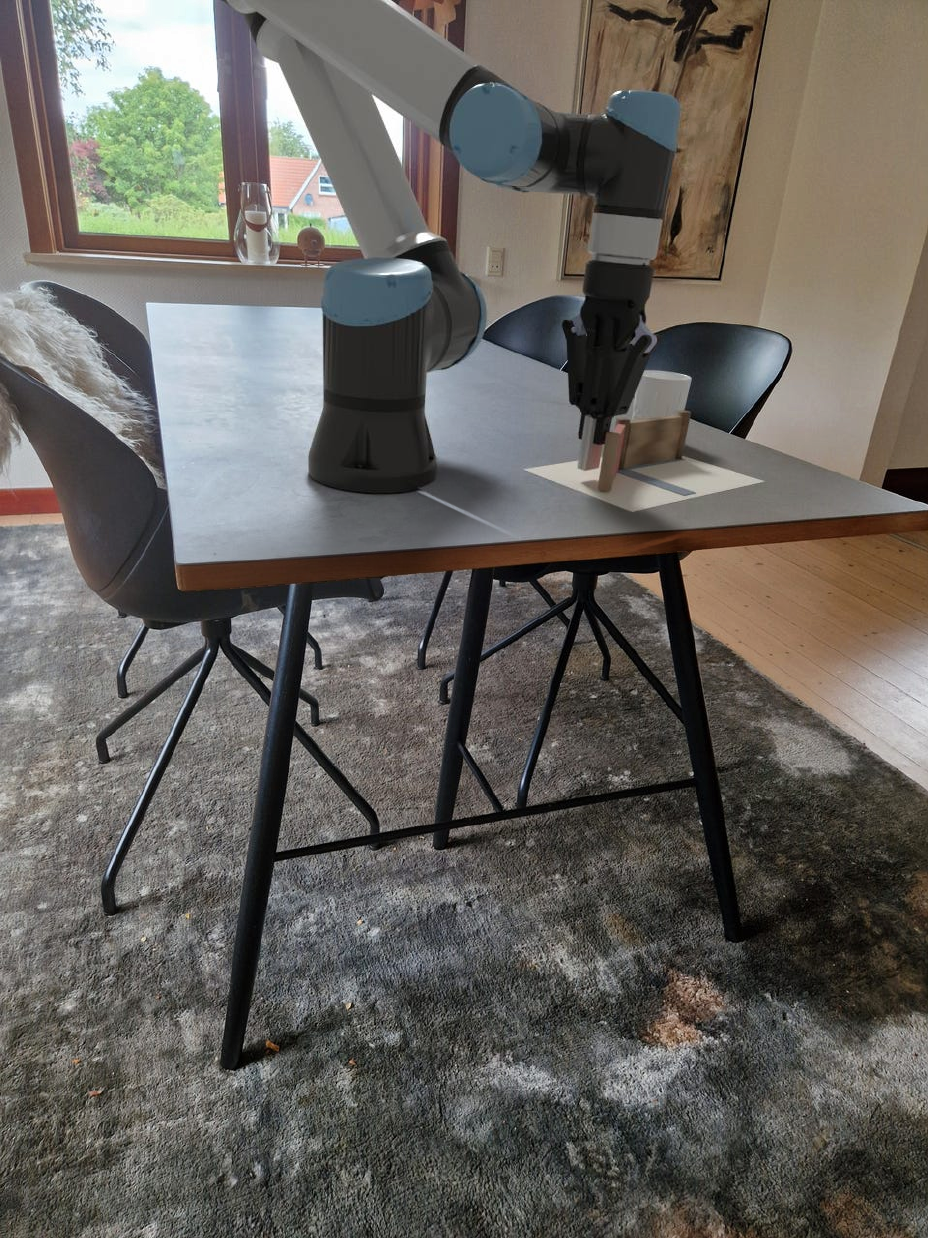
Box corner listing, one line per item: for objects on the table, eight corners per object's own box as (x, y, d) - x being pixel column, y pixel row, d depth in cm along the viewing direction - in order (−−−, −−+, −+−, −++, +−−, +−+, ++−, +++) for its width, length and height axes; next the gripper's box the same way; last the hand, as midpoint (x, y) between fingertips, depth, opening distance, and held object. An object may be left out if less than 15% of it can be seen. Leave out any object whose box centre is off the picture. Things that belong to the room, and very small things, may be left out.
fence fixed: (615, 471, 102) (624, 421, 99) (605, 467, 103) (613, 418, 101) (684, 459, 111) (693, 412, 108) (674, 455, 112) (683, 409, 109)
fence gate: (610, 491, 93) (619, 436, 90) (596, 489, 93) (605, 434, 90) (620, 469, 102) (629, 418, 99) (608, 468, 102) (616, 417, 99)
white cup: (639, 432, 126) (650, 368, 121) (686, 443, 122) (699, 376, 117) (618, 440, 120) (629, 373, 115) (666, 451, 116) (680, 381, 112)
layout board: (631, 515, 88) (632, 510, 88) (522, 472, 100) (522, 468, 100) (764, 484, 104) (765, 480, 103) (656, 450, 116) (657, 447, 116)
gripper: (689, 267, 85) (648, 478, 96) (598, 255, 93) (569, 451, 104) (647, 265, 80) (609, 487, 91) (555, 253, 88) (530, 458, 99)
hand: (588, 468), depth 98 cm, fingers closed
